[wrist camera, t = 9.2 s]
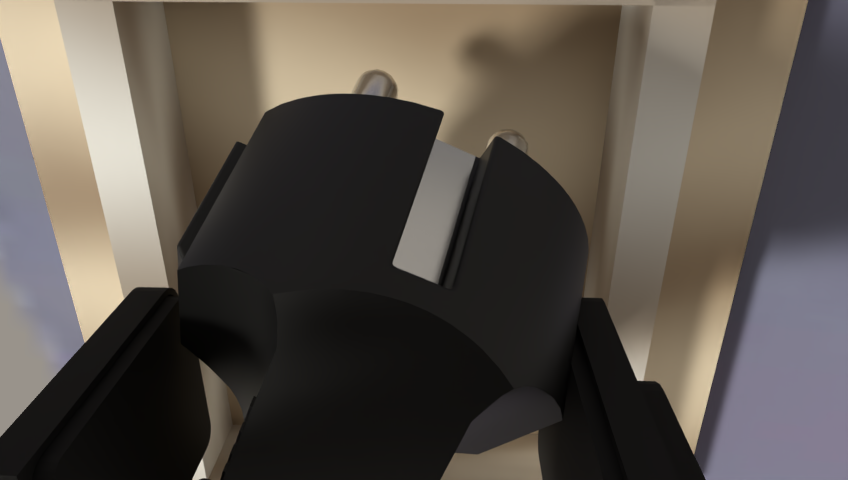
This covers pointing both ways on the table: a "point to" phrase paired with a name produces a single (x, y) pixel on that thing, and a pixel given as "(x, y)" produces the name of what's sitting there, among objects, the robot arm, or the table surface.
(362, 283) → the power plug
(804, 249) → the table surface
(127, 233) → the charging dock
